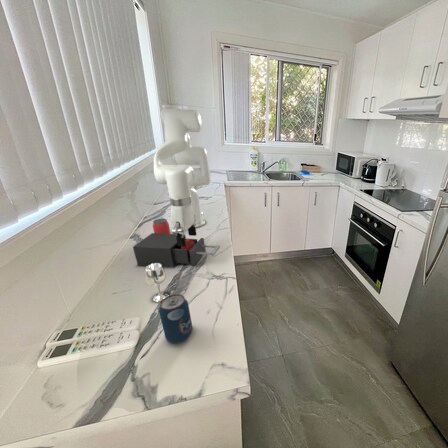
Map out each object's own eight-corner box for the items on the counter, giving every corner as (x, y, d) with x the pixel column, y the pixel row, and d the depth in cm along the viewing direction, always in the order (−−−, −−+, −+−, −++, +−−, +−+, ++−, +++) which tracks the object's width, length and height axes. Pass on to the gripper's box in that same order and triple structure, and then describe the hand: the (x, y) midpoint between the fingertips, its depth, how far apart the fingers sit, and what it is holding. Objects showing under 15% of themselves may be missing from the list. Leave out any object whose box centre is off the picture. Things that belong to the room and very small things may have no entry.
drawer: (222, 252, 109) (221, 238, 106) (213, 266, 98) (211, 251, 96) (175, 250, 109) (173, 236, 107) (161, 264, 99) (158, 249, 96)
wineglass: (157, 305, 78) (149, 274, 74) (147, 298, 81) (139, 268, 77) (173, 295, 83) (167, 265, 78) (163, 289, 86) (157, 260, 81)
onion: (182, 253, 105) (179, 236, 102) (196, 250, 107) (194, 234, 104) (183, 259, 100) (180, 242, 97) (198, 256, 102) (195, 239, 99)
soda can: (190, 343, 66) (183, 308, 61) (162, 347, 64) (153, 312, 60) (195, 324, 72) (189, 291, 67) (169, 327, 70) (162, 294, 66)
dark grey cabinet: (188, 252, 110) (185, 234, 107) (173, 267, 98) (169, 248, 95) (156, 250, 110) (152, 233, 107) (137, 265, 99) (132, 246, 95)
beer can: (166, 247, 113) (161, 224, 108) (153, 246, 114) (148, 222, 109) (175, 241, 119) (171, 218, 114) (163, 240, 120) (158, 217, 115)
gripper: (182, 194, 102) (188, 231, 109) (158, 208, 86) (167, 250, 93) (199, 195, 102) (204, 232, 109) (179, 209, 86) (186, 251, 93)
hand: (187, 240), depth 101 cm, fingers open, 9 cm apart
